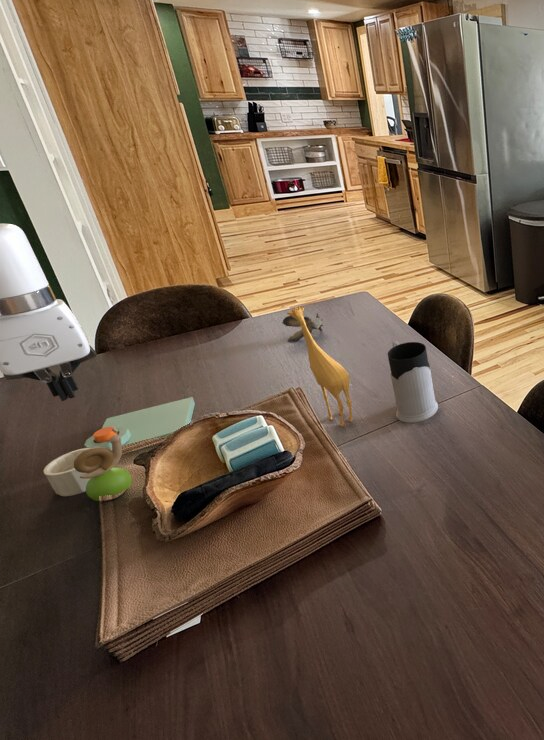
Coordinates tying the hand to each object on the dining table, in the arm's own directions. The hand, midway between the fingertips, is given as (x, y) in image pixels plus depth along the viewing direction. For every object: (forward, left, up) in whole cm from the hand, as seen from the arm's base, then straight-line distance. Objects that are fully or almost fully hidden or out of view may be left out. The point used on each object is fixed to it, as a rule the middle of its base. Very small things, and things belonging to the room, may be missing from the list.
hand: (68, 395), depth 83 cm
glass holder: (+54, -13, -15) cm, 57 cm away
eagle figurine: (+36, +37, -15) cm, 53 cm away
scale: (+6, +7, -15) cm, 17 cm away
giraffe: (+38, -8, -15) cm, 42 cm away
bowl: (-1, -5, -15) cm, 16 cm away
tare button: (+1, +3, -12) cm, 12 cm away
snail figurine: (+5, -12, -15) cm, 20 cm away
